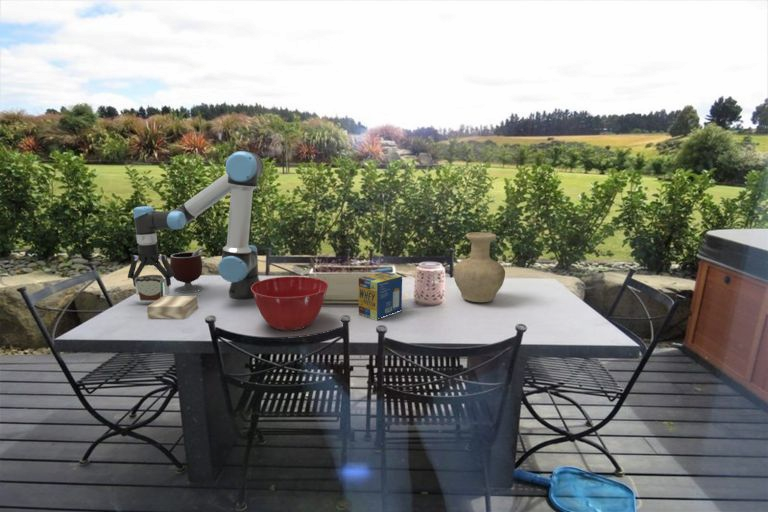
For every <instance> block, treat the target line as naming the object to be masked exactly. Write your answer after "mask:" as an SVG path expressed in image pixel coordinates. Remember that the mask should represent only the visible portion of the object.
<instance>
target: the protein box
mask: <svg viewBox="0 0 768 512" xmlns="http://www.w3.org/2000/svg"><path fill="white" fill-rule="evenodd" d="M402 302H403V276H402V275H398V274H396V273H392V272H387V271H380V272H377V273H373V274H370V275H365V276H363V277H362V276H360V277H358V315H359V314H361V315H360V316H362V315H364V316H363V317H365V316H367V317H366V318H368V317H371V318H374V319H378V318H381V317H383V316H386V315H389V314H392V313H395V312H397V311H400V310H402V309H403V306H402V304H403V303H402ZM371 318H370V319H371ZM374 319H373V320H374Z"/></svg>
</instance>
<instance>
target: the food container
mask: <svg viewBox="0 0 768 512" xmlns="http://www.w3.org/2000/svg"><path fill="white" fill-rule="evenodd" d="M164 279H165V277H164V276H163V275H162V274H161V275H160V274H147V275H141V276H140V275H139V276H138V277H136V278H135V282H136V285H137V289H138V293H139V295H138V296H139V300H140V301H142V302H145V301H146V302H151V301H152V302H155V301H156V300H158V299H159V298H161V297H163V296H164Z"/></svg>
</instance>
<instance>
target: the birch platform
mask: <svg viewBox="0 0 768 512" xmlns="http://www.w3.org/2000/svg"><path fill="white" fill-rule="evenodd" d="M198 308H199V302H198V296H197V295H163V297H161V298H159V299H158V300H156V301H152V302H151V303H150V304H148V305H147V306H146V310H147V311H146V312H147V318H172V319H173V320H177V319H180V320H182V319H183V320H184V319H186V318H187V317H188V316H190V315H191V314H193V312H194V311H195V310H196V309H198ZM172 319H171V320H172Z"/></svg>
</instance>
